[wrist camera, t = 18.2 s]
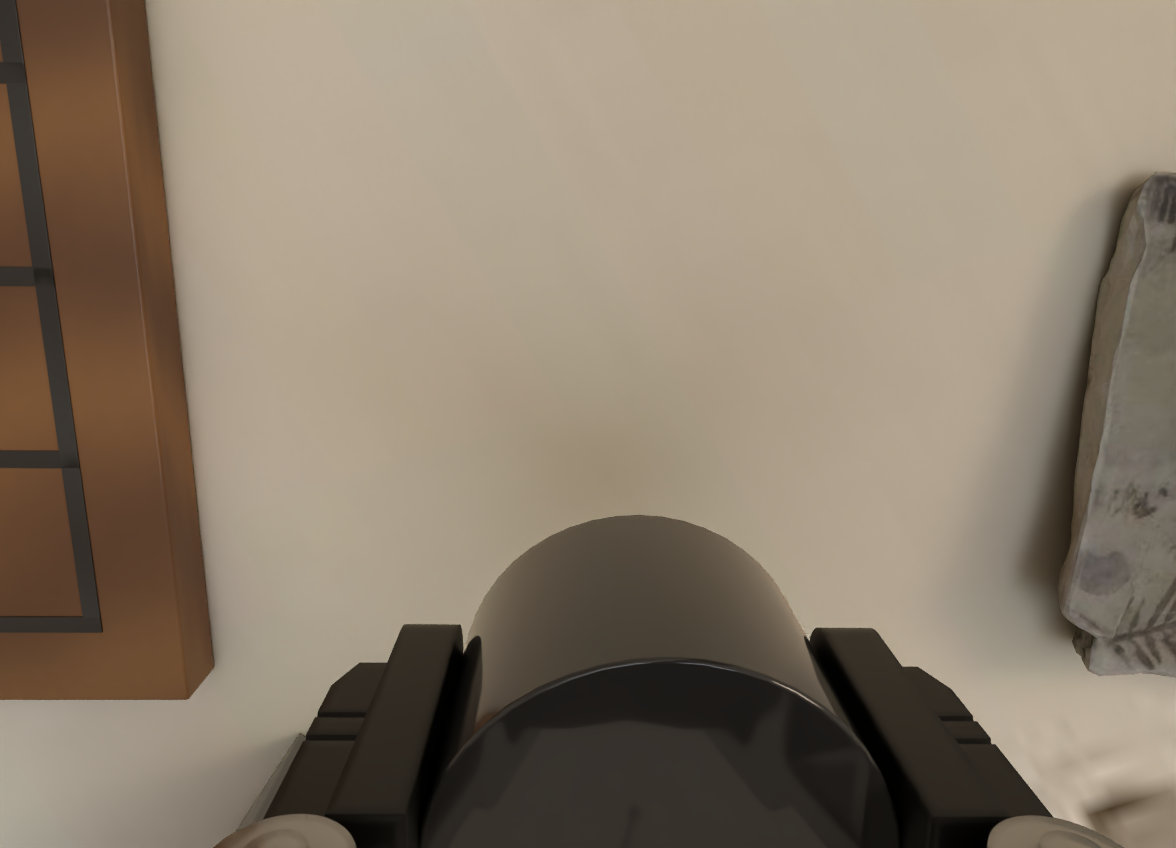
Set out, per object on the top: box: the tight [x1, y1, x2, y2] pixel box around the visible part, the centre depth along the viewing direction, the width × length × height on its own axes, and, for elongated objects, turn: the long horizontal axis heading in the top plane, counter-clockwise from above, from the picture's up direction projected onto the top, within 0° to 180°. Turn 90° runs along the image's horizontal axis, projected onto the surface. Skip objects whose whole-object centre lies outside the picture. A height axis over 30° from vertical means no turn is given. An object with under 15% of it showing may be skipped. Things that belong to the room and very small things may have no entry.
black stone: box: [419, 515, 900, 848], centre depth 9 cm, size 5×5×4 cm
